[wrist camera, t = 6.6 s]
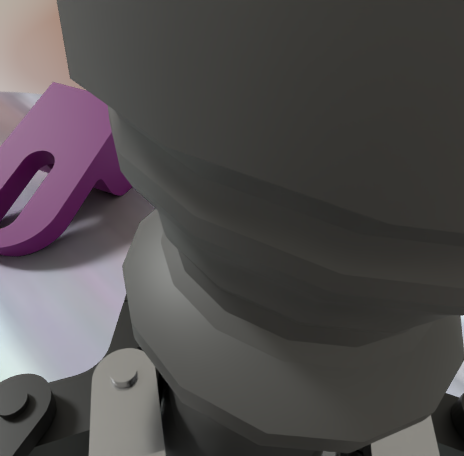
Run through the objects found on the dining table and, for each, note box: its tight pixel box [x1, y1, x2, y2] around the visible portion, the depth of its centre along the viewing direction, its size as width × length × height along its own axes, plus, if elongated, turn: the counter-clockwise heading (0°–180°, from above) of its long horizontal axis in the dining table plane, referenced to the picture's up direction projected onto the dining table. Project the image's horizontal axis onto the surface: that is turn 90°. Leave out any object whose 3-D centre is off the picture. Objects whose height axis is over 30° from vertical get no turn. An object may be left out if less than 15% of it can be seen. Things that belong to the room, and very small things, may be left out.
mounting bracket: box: [0, 82, 132, 256], centre depth 35 cm, size 10×8×18 cm
